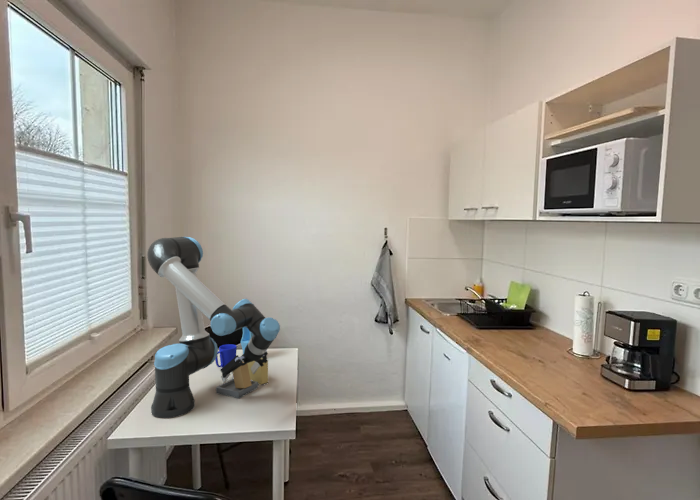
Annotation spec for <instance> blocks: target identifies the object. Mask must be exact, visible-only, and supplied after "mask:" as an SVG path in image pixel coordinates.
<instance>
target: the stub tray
mask: <svg viewBox="0 0 700 500" xmlns="http://www.w3.org/2000/svg"><path fill="white" fill-rule="evenodd" d="M251 384H252V386H249V387H246V388H235V383H234V378H232V379H230V380H228V381H227V380H226V382H225V383H223V382H222V383H221V384H219V385H218V386H216V387H215V393H216V394H218V395H222V396H225V397H230V398H235V399H240V398H242V397H244V396H246V395H248V394H249V393H252V392H253V391H255V390H256V389H258V388H259V384H258V382H256V381H252V380H251Z"/></svg>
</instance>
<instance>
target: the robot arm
mask: <svg viewBox="0 0 700 500" xmlns="http://www.w3.org/2000/svg"><path fill="white" fill-rule="evenodd" d="M146 256H147V257H146V259H147V262H148V264H149V266H150V268H151V269H152V270H153V271H154V273H156V274H157V275H158V277H160V278H165V279H166V280H167V282H170V284H171V285H172V286H173V287H174V288H175V290H174V291H175V294H176V295H175V296H176V302H177V307H178V315H179V321H180V327H181V334H182V335H181V337H179V339H178V341H179V343H172V344H168V345H165V346H163V347H161V348H159V349H158V350H157V351H156V353H155V354H154V363H153V365H154V377H155V378H154V380H155V392H154V393H155V394H154V396H153V401H152V404H151V407H150V409H151V412H150V413H152V414H151V415H152V416H153V417H156V418H160V419H169V418H170V419H171V418H176V417H181V416H184V415H186V414H188V413H190V412H191V411H193V410H194V408H195V407H196V402H195V401H196V400H195V397H194V394H193V393H192V390H191V387H190V376H191V375H193V374H194V373H197V372H199V371H200V370H204V369H206V368H207V367H209V366H210V365H212V364H213V363H214V362H216V361H215V359H216V357H217V356H218V355H219V353H218V351H219V348H218V344H217V343H216V341H215V339H214V338H212V337H211V336H210V333H209V332H208V331H206V329H205V323H204V316H206V318H207V319H208V320H210V321H209V322H210V329H211V330H212V333H213V334H215V335H217V336H220V337H222V336H226V335H230V334H232V333H234V332H236V331H238V330H242V329H243V328H244V327H246V328H247V329H248V330H249V331H250V332H251V333H252V334H253V336H252V338H251V339H250V341H249V343H248V344H247V346H246V347H245V350H244V354H243V353H242V354H241V356H239V354H238V355H237V354H236V356H235V357H234V359H232V360H231V361H230V362H229V363H228V364H226V365H225V366H224V367H223V368H222V367H221V368H220V372H221V376H220V378H221V380H222V384H223V383H225V382H227V380H228V379H229V378H230V376H231V373H233V371H234V370H236V369H237V368H239V367H240V366H244V365H245V364H247V363H249V362H252V361H255V363H254V364H253V366H252V367H251V371H252V373H253V374H255V372H256V371H257V369H258V368H259V367H260V366H261V367H262V366H264V365H263V363H267V360H268V356H267V355H268V351H267V350H268V349H269V348H270V346H271V345H272V343H273V342H274V340H276V338H277V337H278V335H279V333H280V331H281V325H280V323H279V321H278V320H277V319H275V318H273V317H269V316H267V317H265V315H264V314H263V313H262V312H261V311H260V310H259V309H258V308H257V306H255V304H254V303H252V302H251V301H250V300H249V299H248V298H243V299H241V300H239V301H238V302H236V303H235V305H234V306H233V307H232V309H231V308H230V307H229V306H228V305H226V303H224V301H222V300H221V299H220V298H219V297H218V296H217V295H216V294H215V293H214V292H213V291H211V289H209V288H208V286H206V285H205V284H204V283H203V282H202V281H201V280H200V279H199V278H198V277H197V272H198V270H199V269H200V264H199V263H200V262H201V261H202V259H203V257H204V251H203V247H202V245H201V243H200V242H199V241H198V240H196V238H193V237H189V236H179V237H176V236H175V237H161V238H158V239H156V240H154V241H153V242H152V243H151V244H150V245H149V247H148V249H147V254H146ZM203 315H204V316H203ZM217 354H218V355H217ZM261 358H262V359H261ZM242 360H243V361H242ZM243 362H244V363H243Z"/></svg>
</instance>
